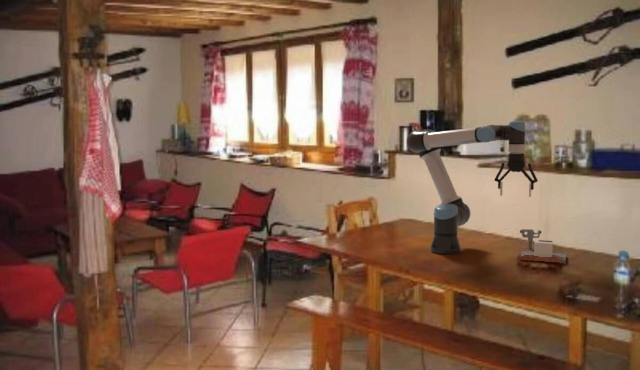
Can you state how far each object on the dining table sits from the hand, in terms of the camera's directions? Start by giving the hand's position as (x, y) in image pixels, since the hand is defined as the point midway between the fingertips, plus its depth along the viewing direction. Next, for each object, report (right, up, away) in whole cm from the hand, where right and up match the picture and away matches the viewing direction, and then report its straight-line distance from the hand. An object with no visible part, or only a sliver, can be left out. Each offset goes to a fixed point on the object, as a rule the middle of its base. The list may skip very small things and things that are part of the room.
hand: (515, 196), depth 315 cm
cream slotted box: (+11, -28, -9) cm, 32 cm away
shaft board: (+11, -30, -9) cm, 33 cm away
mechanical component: (+11, -28, +11) cm, 32 cm away
